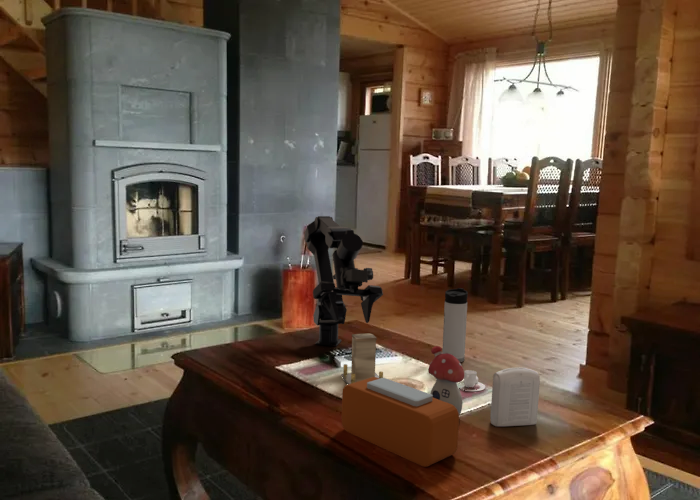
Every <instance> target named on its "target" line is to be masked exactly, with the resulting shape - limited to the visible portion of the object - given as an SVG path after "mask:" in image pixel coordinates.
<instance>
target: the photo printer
mask: <svg viewBox="0 0 700 500" xmlns="http://www.w3.org/2000/svg"><path fill="white" fill-rule="evenodd" d="M540 385H541V378H540V375H539V372H538V371H536V370H534V369H531V368H526V367H519V366H518V367H508V368H504V369H501V370H499V371H496V372H494V374H493V376H492V388H491V402H490V404H491V405H490V416H489V417H490V423H491V425H493V426H495V427H514V426H515V427H516V426H533V425H537V422H538V421H537V420H538V411H539V410H538V409H539V395H540V387H541V386H540Z"/></svg>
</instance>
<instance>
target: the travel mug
mask: <svg viewBox="0 0 700 500" xmlns="http://www.w3.org/2000/svg"><path fill="white" fill-rule="evenodd" d="M444 298H445V299H444V308H443V309H444V310H443V328H442V329H443V331H442V332H443V334H442V335H443V336H442V350H441V352H442V353H443V354H445V353H448V354H451V355H453V356H454V357H456V358H457V359H458V361H459V362H460V363H462V362H464V361H465V359H466V358H465V357H466V356H465V353H466V335H467V321H468V320H467V313H468V291H467V290H465V288H461V287H457V288H453V289H447V290H446V291H445V293H444Z"/></svg>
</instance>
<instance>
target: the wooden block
mask: <svg viewBox="0 0 700 500" xmlns="http://www.w3.org/2000/svg"><path fill="white" fill-rule="evenodd" d="M351 338H352V339H351V366H350V367H351V371H350V373H351V374H352V373H355V382H358V381H362V380H365V379H368V378H371V377H375V373H376V353H377V349H376V348H377V339H378V338H377V336H375V335H374V334H373V333H369V332H368V333H355V334H353V333H352V334H351Z"/></svg>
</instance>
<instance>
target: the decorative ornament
mask: <svg viewBox="0 0 700 500" xmlns="http://www.w3.org/2000/svg"><path fill="white" fill-rule="evenodd" d="M442 349H443V347H441V346H439V345H436V346H433V347H432V348H431V352H430V353H431V354H433V355H434V358H433V360H432V361H431V362H430V363H429V366H428V374H429V375H430V376H433V377H434V378H435V382H434V384H433V386H432V388H431V390H430V393H429V394H431V395H433V398H436V399H438V400H441V401H444V402H447V403H450V404H452V405H454V406H455V407H456V409H457V410H458V413H459V416H460V415H461V413H462V410H463V404H464V403H463V397H462V394H461V393H462V392H461V390H460V389H459V388H458V386H457V383H458V382H461V381H462V380H464V371H465V370H464V368H463V365H462V364H461V363H462V362H459V361H458V359H457V358H456V357H454V356H453V355H451V354H448V353H445V354H443V353H442Z"/></svg>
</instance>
